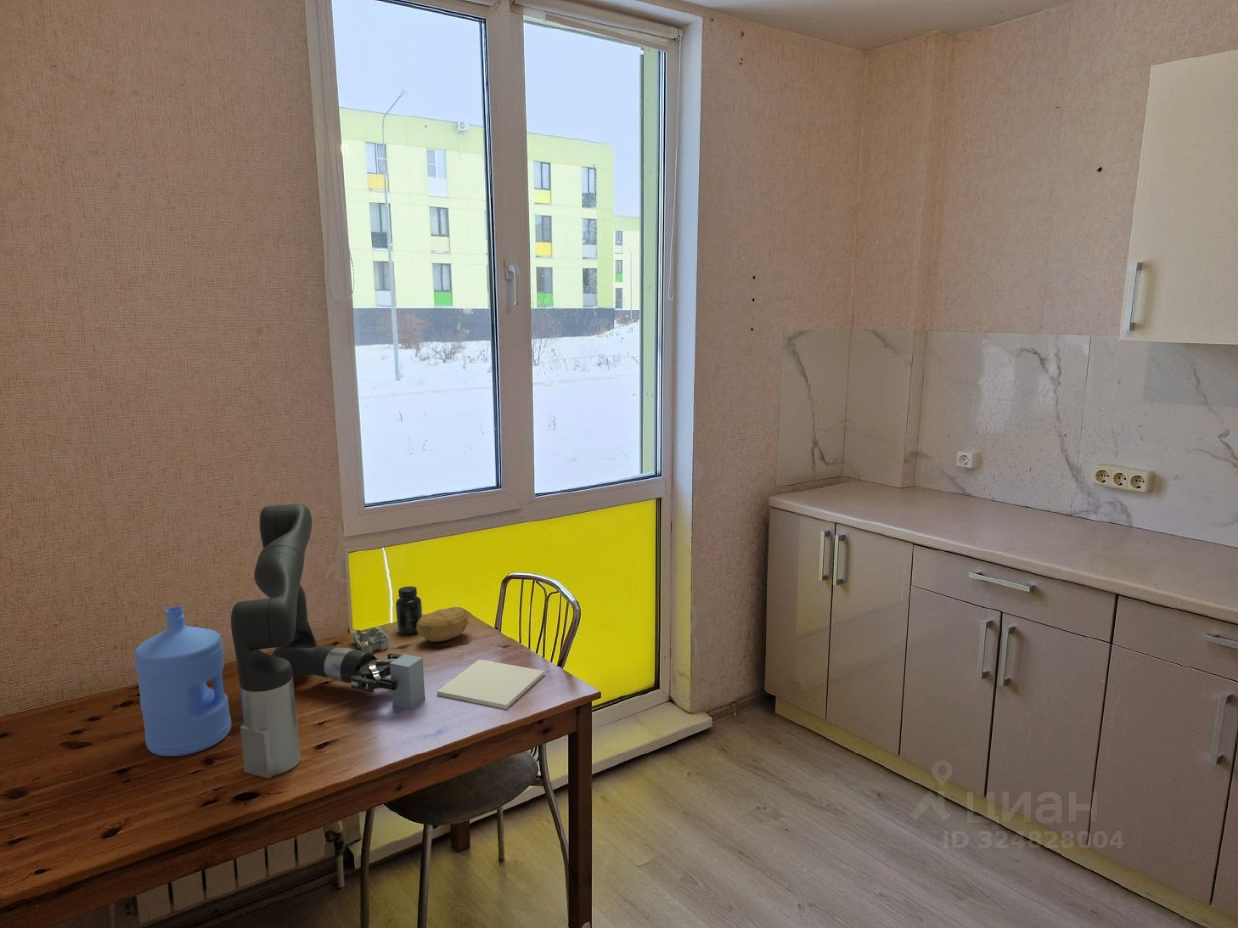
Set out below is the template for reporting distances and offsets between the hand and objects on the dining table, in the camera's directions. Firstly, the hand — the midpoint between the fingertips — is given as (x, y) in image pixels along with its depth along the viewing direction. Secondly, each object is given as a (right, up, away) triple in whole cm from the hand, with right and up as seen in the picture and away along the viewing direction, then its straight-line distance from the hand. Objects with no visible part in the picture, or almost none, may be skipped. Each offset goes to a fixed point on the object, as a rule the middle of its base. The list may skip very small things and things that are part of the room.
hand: (408, 677), depth 178 cm
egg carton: (-18, -1, +33) cm, 37 cm away
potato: (0, 0, +35) cm, 35 cm away
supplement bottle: (-10, +2, +42) cm, 43 cm away
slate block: (0, -6, +1) cm, 6 cm away
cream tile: (+17, -4, +9) cm, 20 cm away
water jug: (-42, -9, -13) cm, 45 cm away
